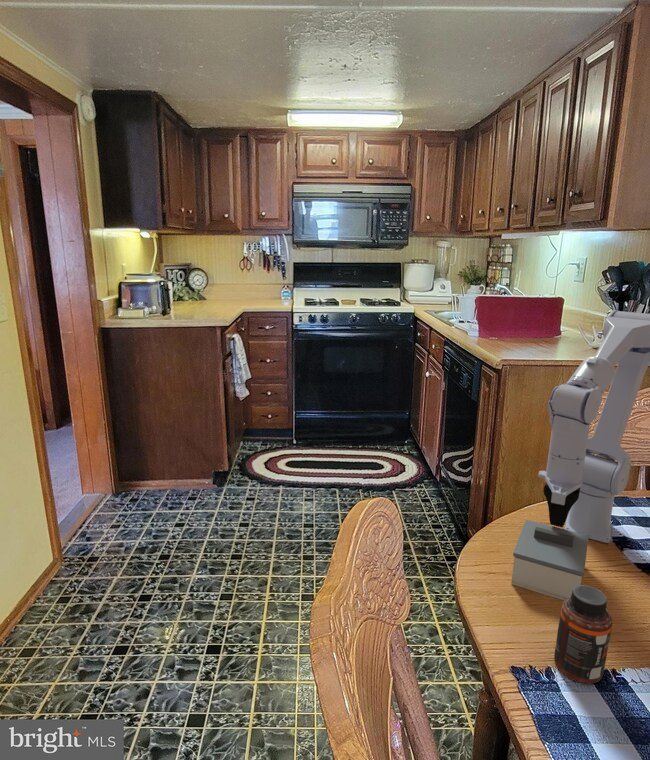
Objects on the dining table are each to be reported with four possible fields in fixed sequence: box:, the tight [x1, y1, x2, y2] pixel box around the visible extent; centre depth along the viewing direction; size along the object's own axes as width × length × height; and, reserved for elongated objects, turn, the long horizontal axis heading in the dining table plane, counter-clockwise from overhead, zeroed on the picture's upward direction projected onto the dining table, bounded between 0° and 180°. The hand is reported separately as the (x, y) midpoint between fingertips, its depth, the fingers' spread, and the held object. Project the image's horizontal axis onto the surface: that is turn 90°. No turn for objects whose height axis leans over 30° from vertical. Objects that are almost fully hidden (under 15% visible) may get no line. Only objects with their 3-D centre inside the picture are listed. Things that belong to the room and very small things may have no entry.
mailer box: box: [510, 556, 583, 601], centre depth 87 cm, size 12×10×5 cm
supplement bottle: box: [553, 584, 613, 685], centre depth 66 cm, size 6×6×11 cm
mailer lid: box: [512, 519, 589, 577], centre depth 86 cm, size 12×10×2 cm
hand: (556, 524), depth 91 cm, fingers closed
